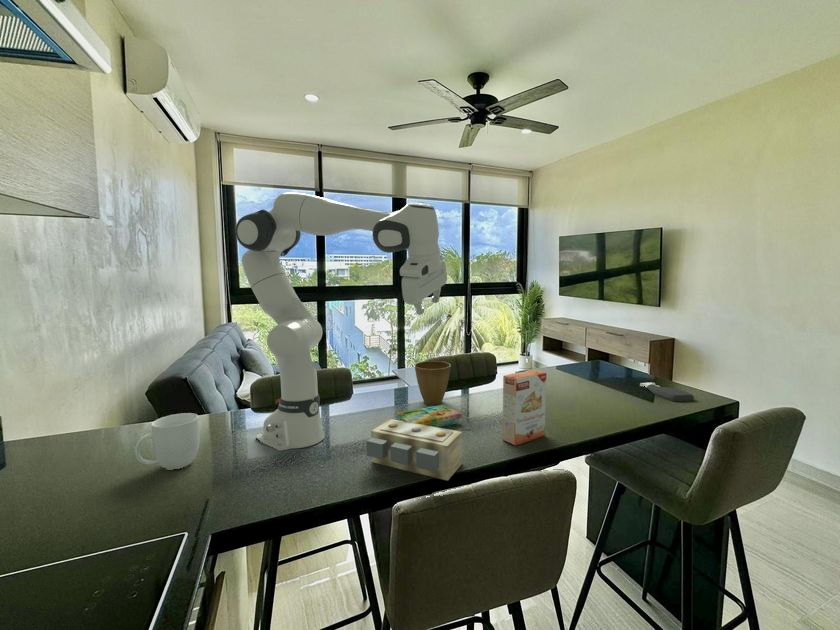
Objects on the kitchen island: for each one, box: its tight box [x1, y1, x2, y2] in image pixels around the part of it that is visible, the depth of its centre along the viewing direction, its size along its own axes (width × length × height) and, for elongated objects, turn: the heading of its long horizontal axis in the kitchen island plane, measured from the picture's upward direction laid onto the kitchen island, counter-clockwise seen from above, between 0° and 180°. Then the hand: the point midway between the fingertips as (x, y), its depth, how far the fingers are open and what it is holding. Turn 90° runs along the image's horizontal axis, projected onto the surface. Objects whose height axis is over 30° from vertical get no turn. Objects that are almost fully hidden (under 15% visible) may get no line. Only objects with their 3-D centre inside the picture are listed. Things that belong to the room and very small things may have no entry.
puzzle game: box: [395, 404, 463, 428], centre depth 134 cm, size 12×5×20 cm
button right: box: [416, 448, 439, 472], centre depth 93 cm, size 5×2×4 cm, turn 62°
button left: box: [366, 437, 388, 459], centre depth 100 cm, size 5×2×4 cm, turn 62°
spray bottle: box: [639, 382, 695, 403], centre depth 165 cm, size 3×11×24 cm
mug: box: [134, 412, 201, 468], centre depth 104 cm, size 15×11×13 cm
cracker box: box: [501, 369, 547, 447], centre depth 119 cm, size 14×6×21 cm, turn 123°
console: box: [370, 418, 463, 482], centre depth 104 cm, size 23×10×10 cm, turn 62°
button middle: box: [391, 443, 413, 465], centre depth 97 cm, size 5×2×4 cm, turn 62°
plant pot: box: [414, 360, 452, 406], centre depth 157 cm, size 15×15×16 cm
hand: (428, 307), depth 111 cm, fingers open, 8 cm apart
